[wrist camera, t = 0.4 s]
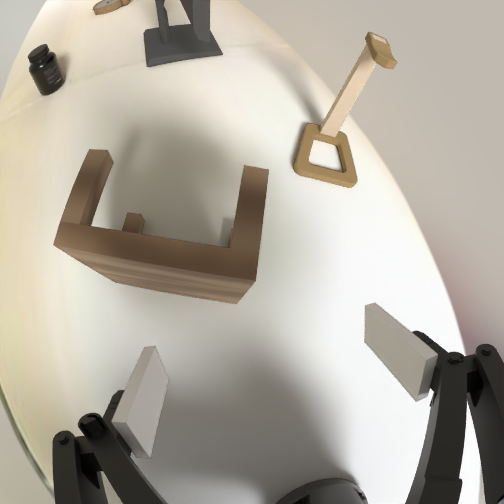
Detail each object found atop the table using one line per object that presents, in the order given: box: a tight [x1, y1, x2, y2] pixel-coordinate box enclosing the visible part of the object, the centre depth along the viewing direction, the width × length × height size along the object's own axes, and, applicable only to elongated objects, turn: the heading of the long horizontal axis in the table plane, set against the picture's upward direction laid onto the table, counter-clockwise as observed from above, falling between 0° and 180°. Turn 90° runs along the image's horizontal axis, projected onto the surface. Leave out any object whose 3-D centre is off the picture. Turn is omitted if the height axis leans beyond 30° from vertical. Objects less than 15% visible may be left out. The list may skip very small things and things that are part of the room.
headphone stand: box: [294, 32, 397, 188], centre depth 32 cm, size 10×11×22 cm
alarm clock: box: [93, 0, 130, 15], centre depth 53 cm, size 11×5×15 cm
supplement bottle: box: [28, 44, 65, 96], centre depth 35 cm, size 7×7×12 cm
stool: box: [53, 149, 269, 304], centre depth 27 cm, size 9×16×16 cm, turn 83°
